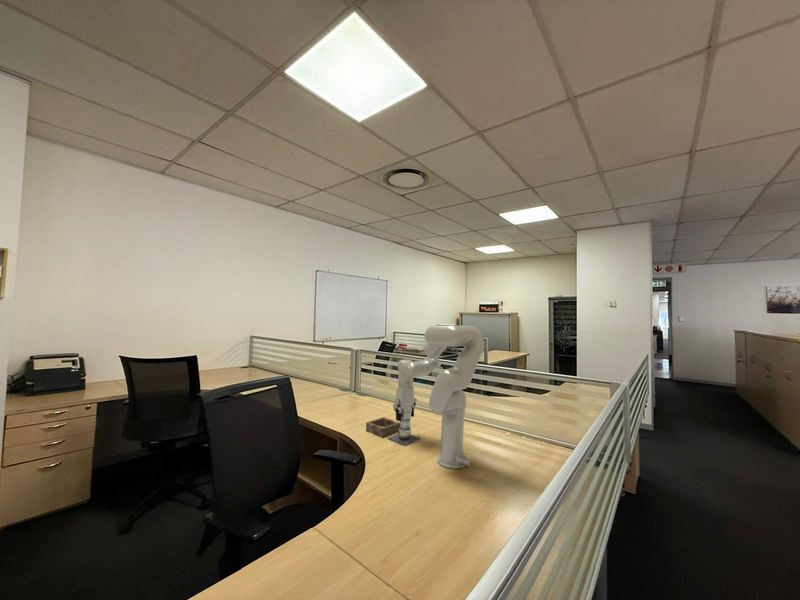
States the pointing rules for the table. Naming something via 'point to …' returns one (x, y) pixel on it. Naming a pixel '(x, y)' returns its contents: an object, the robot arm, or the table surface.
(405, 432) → the plastic bottle
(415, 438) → the mat
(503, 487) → the table surface
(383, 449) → the table surface
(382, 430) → the box
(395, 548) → the table surface
